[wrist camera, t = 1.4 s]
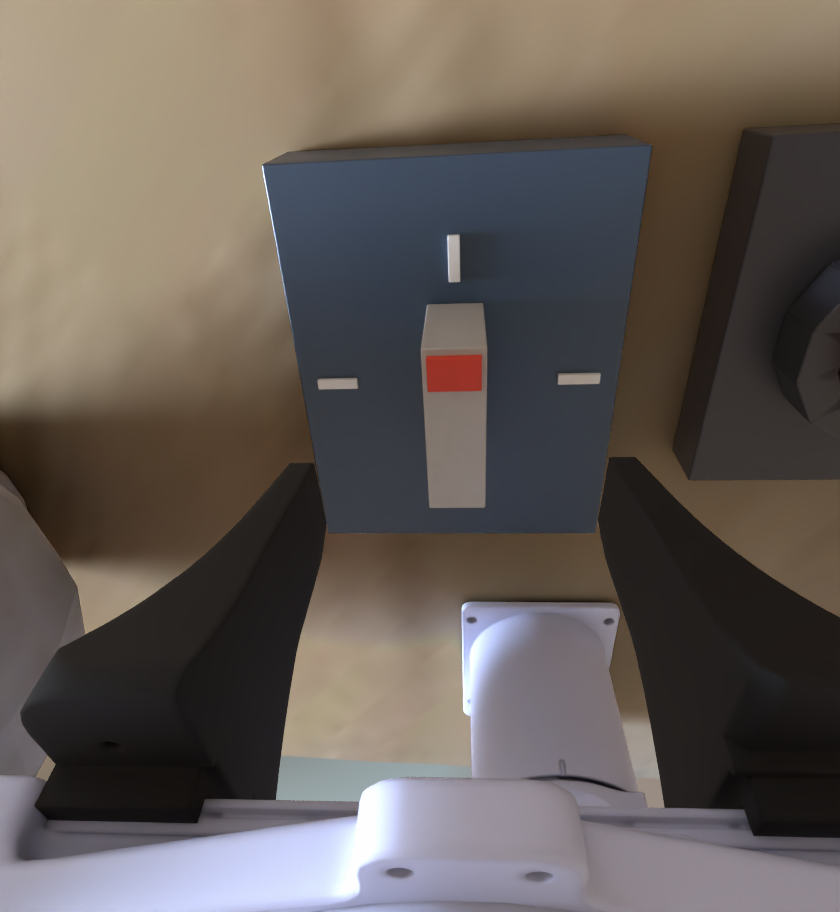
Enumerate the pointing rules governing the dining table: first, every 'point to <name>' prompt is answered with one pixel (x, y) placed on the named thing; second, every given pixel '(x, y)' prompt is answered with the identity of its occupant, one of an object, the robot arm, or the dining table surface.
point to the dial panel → (453, 282)
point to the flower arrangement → (28, 623)
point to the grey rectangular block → (455, 404)
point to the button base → (771, 318)
